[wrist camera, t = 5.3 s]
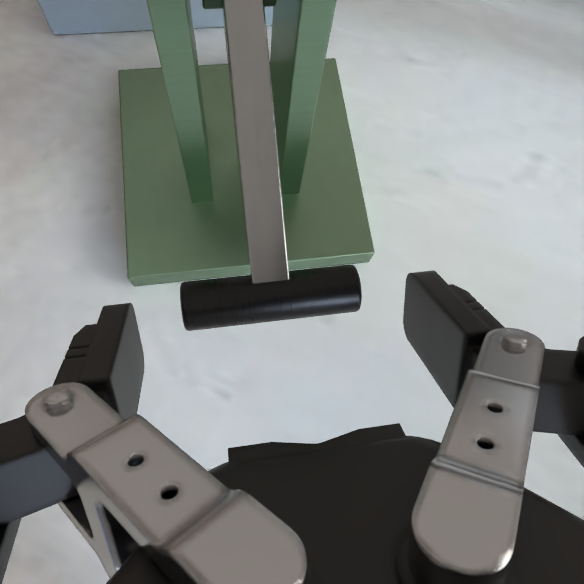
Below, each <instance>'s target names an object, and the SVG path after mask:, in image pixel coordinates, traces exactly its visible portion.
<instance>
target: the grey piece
mask: <svg viewBox="0 0 584 584" xmlns="http://www.w3.org/2000/svg"><path fill="white" fill-rule="evenodd" d="M37 1H38V3H39V5H40V7H41V9H42V11H43V13H44V16H45V18H46V20H47V22H48V24H49V26H50V29H51V31H52V33H53V34H54V35H58V34H80V33H103V32H125V31H147V30H153V28H152V23H151V19H150V14H149V10H148V6H147V1H146V0H37ZM190 5H191V13H192V21H193V28H213V27H224V20H223V10H222V8H221V9H204V8H203V6H202V0H190ZM264 8H265V19H266V25H272V19H273V6H270V7H264Z"/></svg>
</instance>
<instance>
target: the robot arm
mask: <svg viewBox="0 0 584 584" xmlns="http://www.w3.org/2000/svg"><path fill="white" fill-rule="evenodd" d="M403 324H404V330H405V334H406V337H407V339H408V341H409V342H410V344H411V345H412V346H413V348H414V349H415V351H416V352H417V354H418V355H419V357H420V358H421V360H422V361H423V363H424V364H425V366H426V367H427V369H428V370H429V372H430V373H431V375H432V376H433V378H434V379H435V381H436V382H437V384H438V385H439V387H440V388H441V390H442V391H443V393H444V394H445V396H446V397H447V399H448V400H449V402H450V403H451V405H452V406H453V408H454V410H453V413H452V416H451V418H450V421H449V424H448V426H447V429H446V432H445V434H444V437H443V440H442V443H439V442H436V441H433V440H430V439H425V438H421V437H414V436H406V435H405V433H404V431H403V429H402V427H401V425H400V424H399V423H398V424H391V425H384V426H378V427H371V428H364V429H358V430H355V431H352V432H350V433H347V434H344V435H341V436H339V437H336V438H333V439H330V440H328V441H325V442H322V443H318V444H305V443H282V442H268V443H261V444H254V445H248V446H241V447H234V448H228V457H229V462H227V463H224V464H222V465H219V466H217V467H215V468H213V469H211V470H210V471H207V470H206V469H204V468H203V467H202V466H201V465H200V464H198V463H197V462H196V461H195V460H194V459H192V458H191V457H190V456H189V455H188V454H186V453H185V452H184V451H183V450H182V449H180V448H179V447H178V446H177V445H176V444H174V443H173V442H172V441H171V440H170V439H168V438H167V437H166V436H165V435H164V434H162V433H161V432H160V431H159V430H158V429H156V428H155V427H154V426H153V425H152V424H150V423H149V422H148V421H147V420H146V419H144V418H143V417H142V416H140V415H138V414H137V410H138V404H139V398H140V392H141V386H142V380H143V374H144V355H143V349H142V344H141V339H140V335H139V330H138V325H137V321H136V316H135V311H134V308H133V305H132V304H131V303H127V304H118V305H108V306H104V307H103V308H102V311H101V314H100V317H99V320H98V322H97V324H93V325H86V326H84V327H83V328H82V329H81V330H80V331H79V332H78V333H77V334H76V335H74V336H73V339H72V341H71V344H70V346H69V350H68V351H67V353H66V355H65V359H64V360H63V363H62V365H61V367H60V370H59V372H58V374H57V377H56V379H55V381H54V384H53V386H52V387H49V388H47V389H45V390H43V391H41V392H39V393H38V394H36V395H35V396H34V397H33V398H32V399H31V400H30V401H29V402H28V404H27V405H26V408H25V415H24V416H21V417H19V418H17V419H14V420H11V421H8V422H5V423H2V424H0V584H2V581H3V578H4V574H5V571H6V568H7V564H8V561H9V558H10V554H11V551H12V547H13V544H14V541H15V537H16V534H17V531H18V527H19V524H20V521H21V518H22V517H24V516H27V515H29V514H32V513H34V512H37V511H39V510H42V509H44V508H47V507H49V506H52V505H54V504H57V503H58V504H59V506H60V507H61V509H62V510H63V511H64V513H65V514H66V515H67V516H68V518H69V519H70V520H71V522H72V523H73V524H74V525H75V527H76V528H77V529H78V531H79V532H80V533H81V534H82V536H83V537H84V538H85V540H86V541H87V542H88V543H89V545H90V546H91V547H92V549H93V550H94V551H95V553H96V554H97V556H98V557H99V559H100V561H101V563H102V565H103V567H104V569H105V571H106V573H107V574H108V576H109V578H110V579H109V581H108V582H107V583H106V584H584V520H582V519H581V518H579V517H577V516H575V515H573V514H572V513H570V512H568V511H566V510H564V509H562V508H561V507H559V506H557V505H555V504H553V503H552V502H550V501H548V500H546V499H544V498H542V497H541V496H539V495H537V494H535V493H533V492H531V491H530V490H528V489H526V488H524V487H523V486H524V480H525V473H526V467H527V461H528V455H529V449H530V443H531V437H532V431H535V432H546V433H556V434H558V435H559V437H560V438H561V440H562V441H563V442H564V443H565V445H566V446H567V447H568V448H569V450H570V451H571V452H572V453H573V455H574V456H575V457H576V458H577V460H578V461H579V462H580V463H581V465H582V466H583V467H584V336H583V337H582V338H580V340H579V343H578V347H577V351H566V350H551V349H545V346H544V343H543V342H542V341H541V340H540V339H539V338H538V337H537V336H535V335H533V334H531V333H529V332H526V331H523V330H519V329H514V328H504V327H503V326H502V325H501V324H500V323H499V322H498V321H497V320H496V319H495V318H494V317H493V316H492V315H491V314H490V313H489V312H488V311H487V310H486V309H484V307H483V306H482V305H481V304H480V303H479V302H477V301H476V299H475V298H474V297H473V296H472V295H471V294H470V293H469V292H467V291H466V290H463V289H461V288H459V287H457V286H455V285H453V284H451V285H448V284H447V283H446V282H445V281H444V280H443V279H442V278H441V277H440V276H439V275H438V274H437V273H436V272H435V271H425V272H416V273H409V274H408V276H407V278H406V288H405V302H404V317H403Z"/></svg>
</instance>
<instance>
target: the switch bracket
mask: <svg viewBox="0 0 584 584" xmlns="http://www.w3.org/2000/svg"><path fill="white" fill-rule="evenodd" d="M146 1H147V6H148V10H149V14H150V19H151V23H152V28H153V32H154V37H155V41H156V45H157V50H158V54H159V59H160V63H161V68H147V69H128V70H119V71H118V73H119V95H120V117H121V139H122V160H123V182H124V204H125V226H126V248H127V270H128V278H129V280H130V281H131V283H132V284H133V286H142V285H152V284H161V283H171V282H181V281H190V280H200V279H210V278H219V277H229V276H238V275H248V274H250V271H249V261H248V252H247V242H246V232H245V223H244V213H243V204H242V194H241V184H240V175H239V165H238V155H237V146H236V136H235V126H234V117H233V107H232V97H231V88H230V78H229V68H228V64H221V65H202V66H198V59H197V51H196V44H195V36H194V28H193V21H192V13H191V5H190V0H146ZM336 1H337V0H277V2H276V5H275V6H273V19H272V38H271V56H270V73H271V83H272V94H273V105H274V116H275V126H276V137H277V148H278V159H279V169H280V180H281V191H282V202H283V212H284V223H285V234H286V244H287V255H288V266H289V270H296V269H306V268H315V267H325V266H335V265H344V264H354V263H364V262H369V261H370V259H371V257H372V256H373V254H374V247H373V242H372V237H371V233H370V228H369V223H368V218H367V213H366V208H365V203H364V198H363V193H362V188H361V183H360V178H359V173H358V168H357V163H356V158H355V154H354V149H353V144H352V139H351V134H350V129H349V124H348V119H347V114H346V109H345V104H344V99H343V94H342V89H341V84H340V80H339V75H338V70H337V65H336V60H335V58H332V59H325V58H326V53H327V47H328V42H329V37H330V32H331V27H332V21H333V16H334V11H335V6H336Z"/></svg>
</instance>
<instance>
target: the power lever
mask: <svg viewBox="0 0 584 584" xmlns="http://www.w3.org/2000/svg"><path fill="white" fill-rule="evenodd" d="M276 2H277V0H202V6H203V8H204V9H221V8H222V10H223V20H224V30H225V39H226V49H227V59H228V68H229V78H230V88H231V97H232V107H233V117H234V126H235V136H236V146H237V155H238V165H239V175H240V184H241V194H242V204H243V213H244V223H245V232H246V242H247V252H248V261H249V271H250V275H246V276H237V277H227V278H217V279H208V280H198V281H188V282H183V283H181V286H180V300H181V310H182V317H183V323H184V326H185V328H186V330H188V331H192V330H201V329H209V328H218V327H227V326H235V325H244V324H253V323H261V322H270V321H279V320H287V319H296V318H305V317H313V316H322V315H331V314H339V313H348V312H356V311H358V310H359V309H360V305H361V297H362V294H361V283H360V278H359V275H358V272H357V269H356V268H355V266H353V265H342V266H333V267H323V268H313V269H304V270H294V271H289V266H288V255H287V244H286V234H285V223H284V212H283V202H282V191H281V180H280V169H279V159H278V148H277V137H276V126H275V116H274V105H273V94H272V83H271V73H270V62H269V51H268V40H267V30H266V19H265V8H264V7H270V6H275V5H276Z"/></svg>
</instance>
